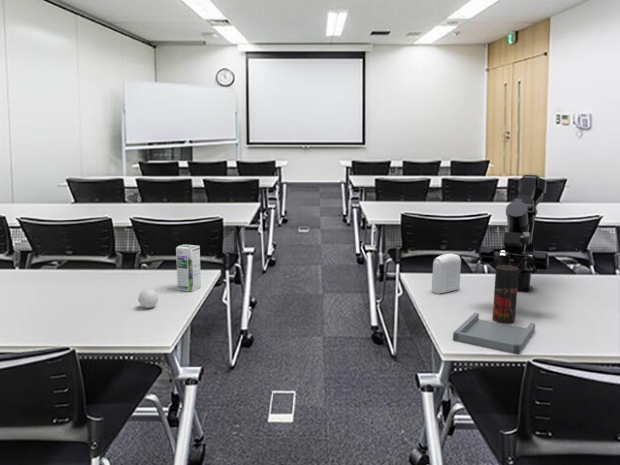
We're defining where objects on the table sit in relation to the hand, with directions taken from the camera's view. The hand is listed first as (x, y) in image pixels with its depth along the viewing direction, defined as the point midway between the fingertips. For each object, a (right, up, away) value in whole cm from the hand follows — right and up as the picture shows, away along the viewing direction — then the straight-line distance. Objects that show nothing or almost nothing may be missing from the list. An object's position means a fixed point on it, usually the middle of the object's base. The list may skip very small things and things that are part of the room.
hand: (508, 282), depth 155 cm
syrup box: (-96, -5, +27) cm, 100 cm away
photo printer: (-11, -5, +25) cm, 28 cm away
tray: (-8, -12, -13) cm, 20 cm away
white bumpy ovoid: (-105, -8, +9) cm, 105 cm away
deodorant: (-2, -11, -2) cm, 11 cm away
